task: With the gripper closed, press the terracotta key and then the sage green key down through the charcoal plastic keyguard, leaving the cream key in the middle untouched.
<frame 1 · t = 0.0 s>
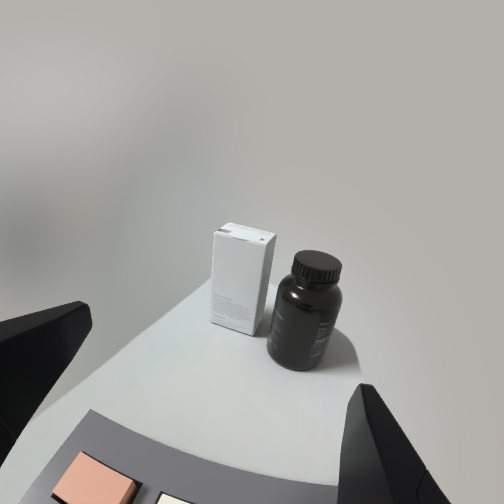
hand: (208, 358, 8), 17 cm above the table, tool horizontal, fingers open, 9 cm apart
skincare box: (234, 322, 37), on the table
terracotta key: (96, 493, 11), point 3 cm above the table, slide at 0.0 cm
supplement bottle: (293, 353, 33), on the table
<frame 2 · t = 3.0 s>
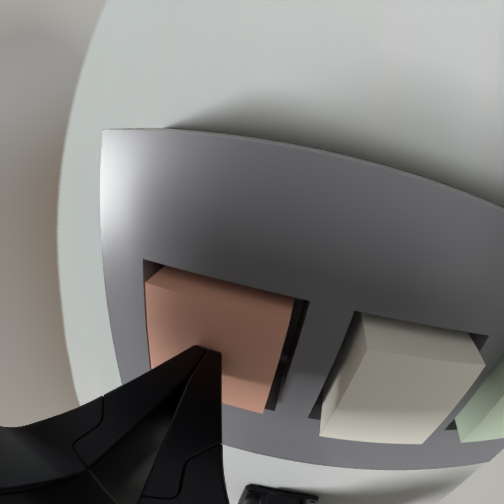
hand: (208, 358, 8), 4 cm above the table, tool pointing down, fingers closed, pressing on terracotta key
terracotta key: (220, 333, 9), point 3 cm above the table, slide at -0.5 cm, touching gripper
cream key: (396, 379, 8), point 3 cm above the table, slide at 0.0 cm
keyguard: (384, 324, 11), on the table
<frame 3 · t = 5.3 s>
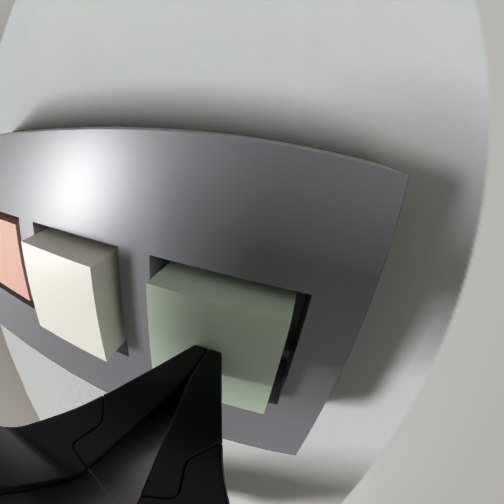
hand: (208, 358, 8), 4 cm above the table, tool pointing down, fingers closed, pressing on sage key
terracotta key: (19, 246, 12), point 2 cm above the table, slide at -1.0 cm, touching keyguard
sage key: (221, 333, 9), point 3 cm above the table, slide at -0.1 cm, touching gripper
cream key: (79, 287, 10), point 3 cm above the table, slide at 0.0 cm
keyguard: (123, 256, 13), on the table
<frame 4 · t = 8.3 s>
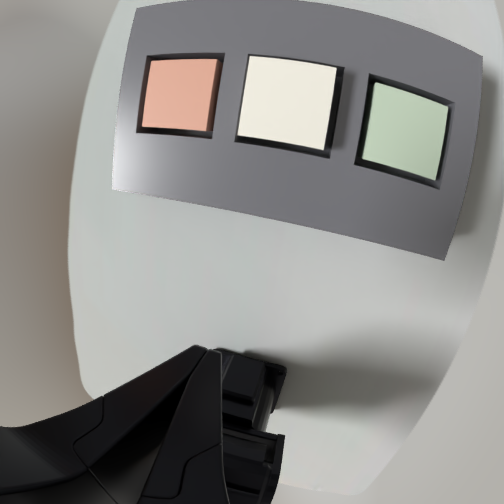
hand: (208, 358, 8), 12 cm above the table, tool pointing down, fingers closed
terracotta key: (186, 95, 15), point 2 cm above the table, slide at -1.0 cm, touching keyguard
sage key: (401, 131, 13), point 2 cm above the table, slide at -1.0 cm, touching keyguard
cream key: (289, 103, 13), point 3 cm above the table, slide at 0.0 cm
keyguard: (295, 110, 16), on the table
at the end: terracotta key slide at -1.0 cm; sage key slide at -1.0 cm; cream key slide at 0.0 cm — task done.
